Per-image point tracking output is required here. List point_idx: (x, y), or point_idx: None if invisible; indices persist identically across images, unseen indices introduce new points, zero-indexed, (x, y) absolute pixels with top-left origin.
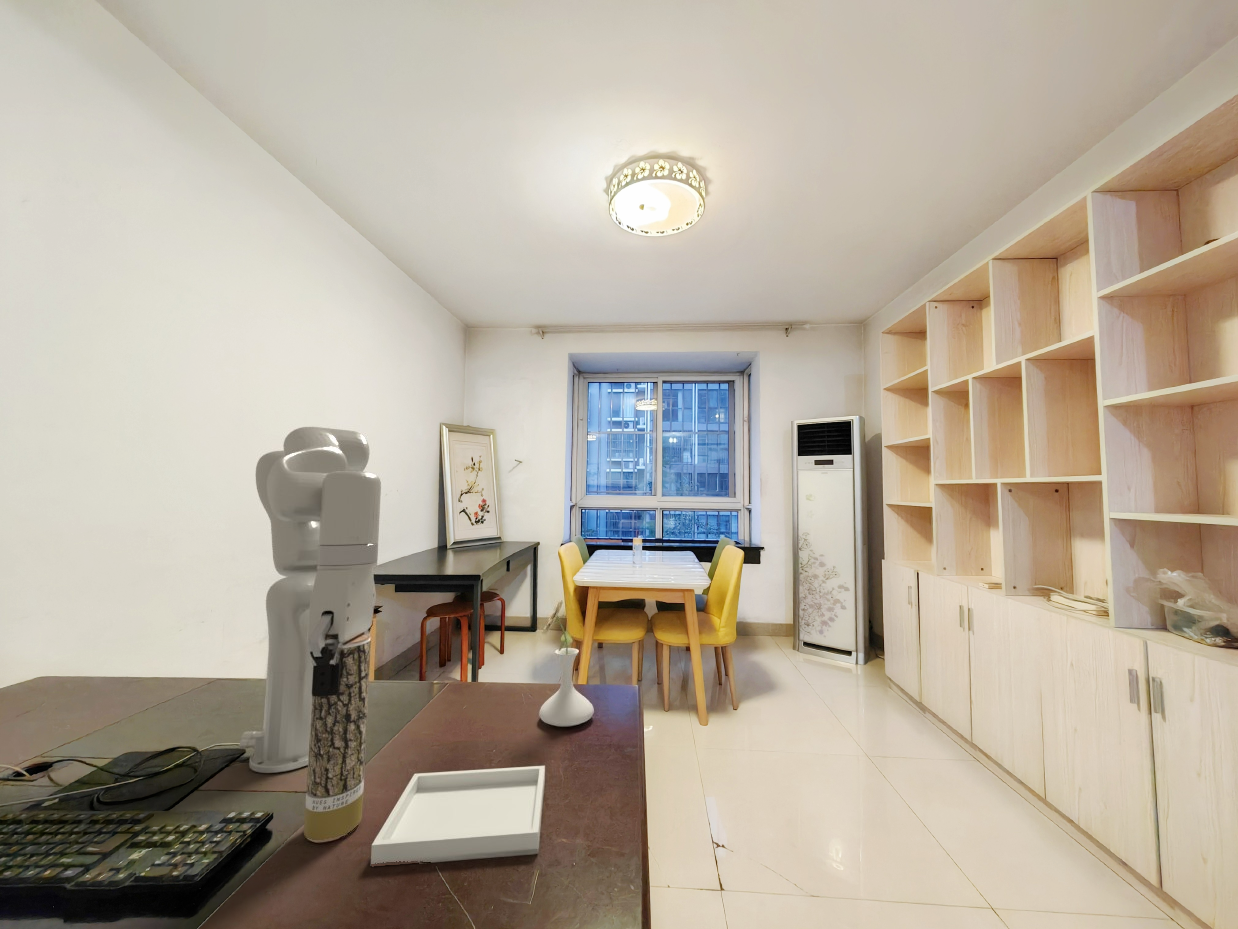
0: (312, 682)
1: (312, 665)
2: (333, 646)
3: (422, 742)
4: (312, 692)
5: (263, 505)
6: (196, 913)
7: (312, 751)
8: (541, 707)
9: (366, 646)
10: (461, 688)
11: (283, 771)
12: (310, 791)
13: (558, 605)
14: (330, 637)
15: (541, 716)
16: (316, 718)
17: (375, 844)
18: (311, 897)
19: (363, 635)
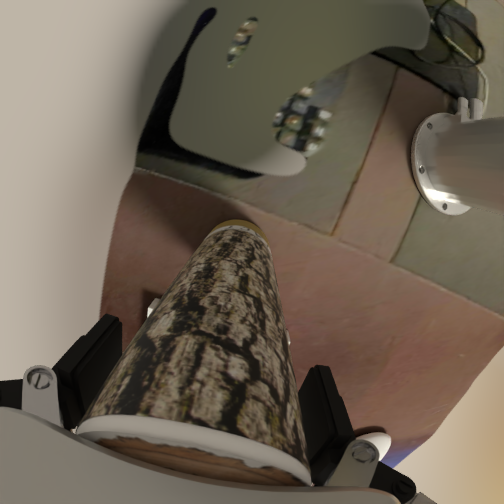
0: (88, 332)
1: (41, 365)
2: None
3: (408, 324)
4: (104, 317)
5: None
6: (139, 151)
7: (191, 258)
8: (379, 439)
9: None
10: (500, 341)
11: (411, 156)
12: (203, 241)
13: None
14: (246, 476)
15: (366, 437)
16: (168, 288)
17: (148, 310)
18: (129, 252)
19: None
